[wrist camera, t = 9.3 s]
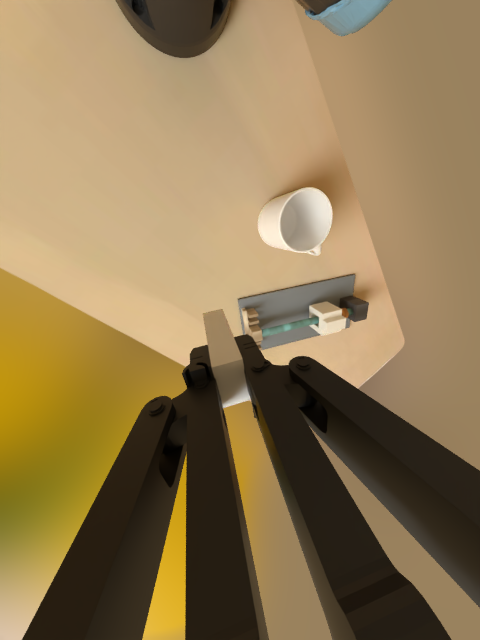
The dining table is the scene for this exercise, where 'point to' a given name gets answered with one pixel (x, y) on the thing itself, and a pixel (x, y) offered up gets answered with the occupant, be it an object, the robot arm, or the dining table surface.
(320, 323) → the sleeve
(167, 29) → the robot arm
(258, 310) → the mat
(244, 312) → the comb rail
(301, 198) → the mug
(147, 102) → the dining table surface
